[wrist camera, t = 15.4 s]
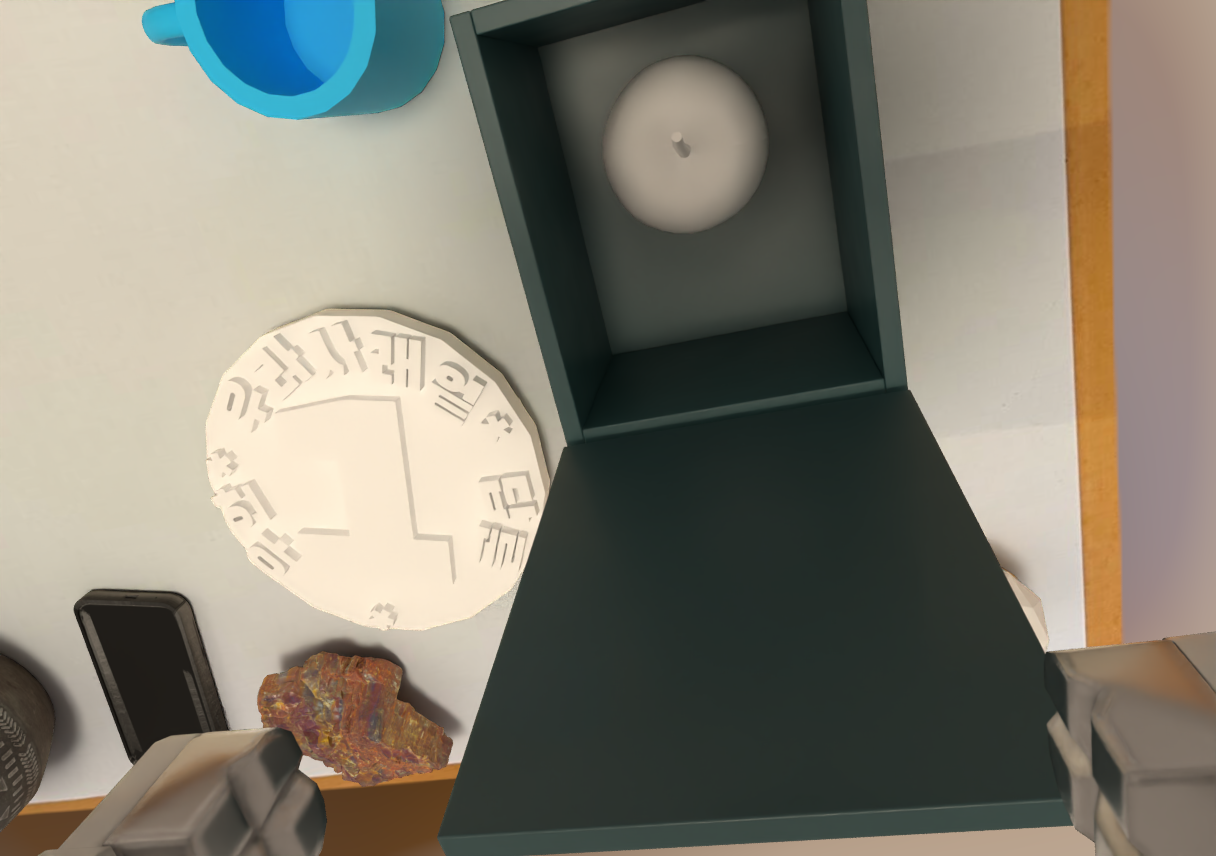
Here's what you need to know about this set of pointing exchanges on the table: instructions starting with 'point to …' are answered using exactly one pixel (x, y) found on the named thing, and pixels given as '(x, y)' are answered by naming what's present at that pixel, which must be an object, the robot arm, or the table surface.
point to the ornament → (1030, 608)
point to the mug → (308, 51)
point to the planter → (22, 737)
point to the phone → (149, 666)
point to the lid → (758, 649)
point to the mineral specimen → (353, 718)
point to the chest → (702, 261)
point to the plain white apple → (685, 145)
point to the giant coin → (377, 468)
